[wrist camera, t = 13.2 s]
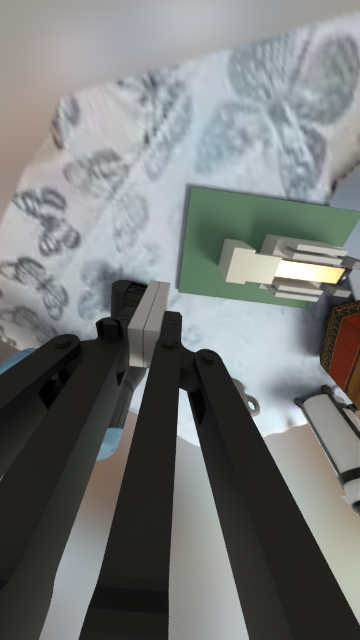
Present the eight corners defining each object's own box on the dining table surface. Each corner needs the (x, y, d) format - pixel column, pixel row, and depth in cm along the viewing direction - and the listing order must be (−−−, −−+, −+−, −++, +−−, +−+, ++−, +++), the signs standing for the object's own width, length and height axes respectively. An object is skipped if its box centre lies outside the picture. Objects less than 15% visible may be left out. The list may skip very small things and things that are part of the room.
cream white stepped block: (218, 266, 34) (225, 281, 27) (224, 238, 31) (234, 247, 24) (253, 271, 34) (269, 287, 27) (263, 243, 31) (284, 254, 24)
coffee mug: (206, 394, 58) (210, 425, 50) (218, 375, 53) (223, 407, 45) (243, 401, 60) (252, 433, 52) (258, 384, 55) (271, 416, 46)
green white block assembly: (178, 290, 38) (176, 311, 30) (191, 187, 28) (192, 180, 21) (302, 305, 39) (330, 330, 31) (357, 211, 29) (418, 213, 21)
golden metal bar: (241, 270, 29) (244, 273, 28) (247, 254, 27) (249, 256, 26) (338, 282, 30) (344, 285, 28) (347, 267, 28) (354, 270, 27)
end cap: (119, 276, 37) (106, 288, 31) (152, 284, 38) (145, 298, 32) (116, 314, 42) (105, 331, 37) (145, 321, 43) (139, 338, 38)
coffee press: (333, 412, 61) (433, 556, 36) (286, 410, 62) (353, 550, 37) (360, 380, 52) (522, 545, 27) (305, 379, 52) (413, 538, 27)
